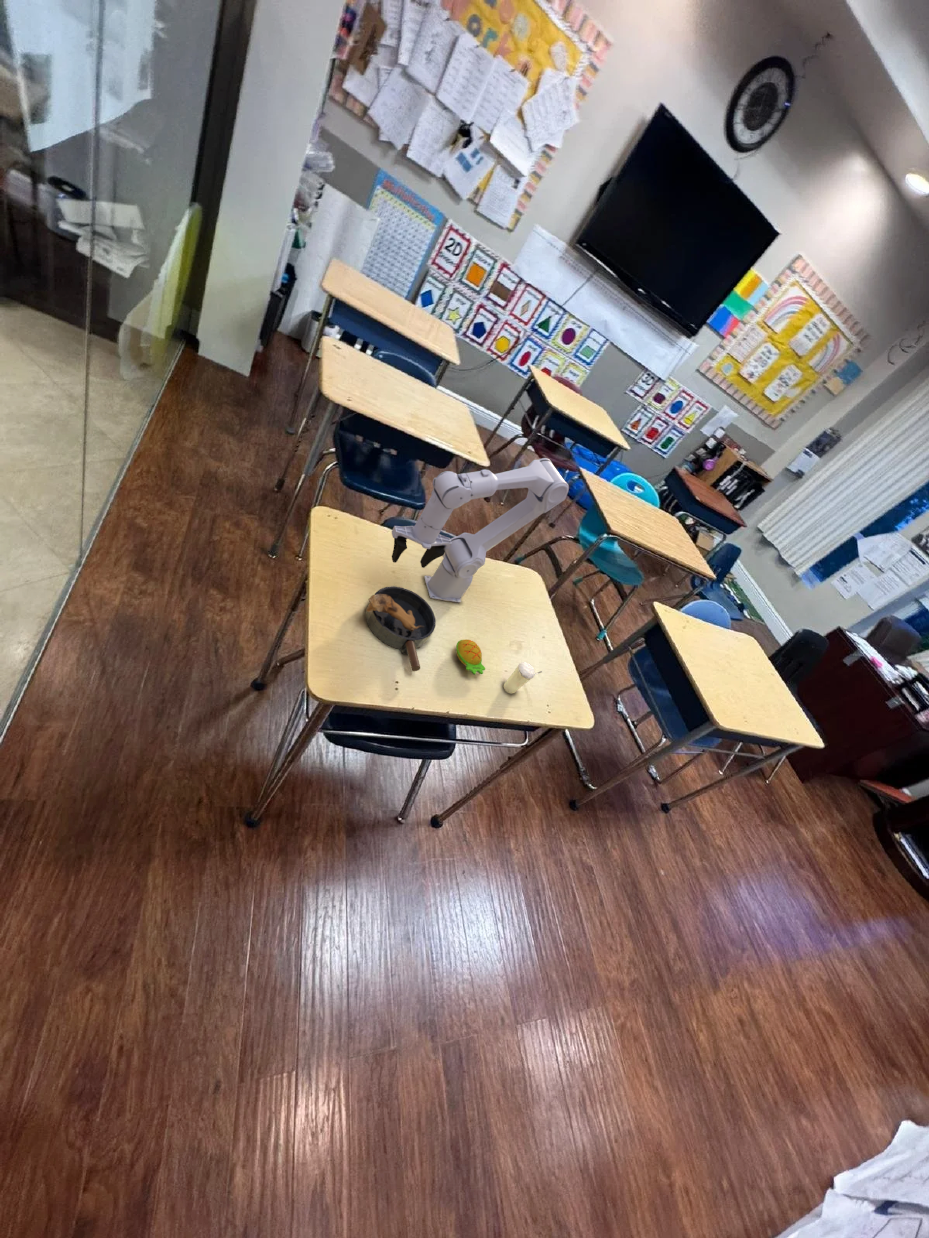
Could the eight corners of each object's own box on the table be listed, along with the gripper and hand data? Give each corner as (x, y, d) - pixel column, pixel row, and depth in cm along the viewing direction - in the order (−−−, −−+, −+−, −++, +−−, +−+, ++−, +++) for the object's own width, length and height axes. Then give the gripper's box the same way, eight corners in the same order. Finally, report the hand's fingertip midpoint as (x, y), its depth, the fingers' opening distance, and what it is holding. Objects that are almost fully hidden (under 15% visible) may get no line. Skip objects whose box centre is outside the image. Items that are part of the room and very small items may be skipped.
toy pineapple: (469, 646, 130) (479, 633, 127) (484, 679, 125) (495, 667, 122) (446, 646, 126) (456, 633, 123) (461, 681, 121) (472, 668, 118)
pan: (420, 601, 132) (427, 591, 130) (435, 652, 123) (442, 642, 120) (361, 593, 124) (366, 581, 121) (371, 647, 114) (377, 636, 112)
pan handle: (400, 649, 118) (407, 639, 116) (408, 650, 119) (415, 639, 117) (406, 676, 114) (413, 665, 111) (414, 676, 115) (421, 666, 113)
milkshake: (518, 700, 126) (541, 678, 120) (499, 691, 125) (522, 668, 119) (520, 687, 130) (542, 664, 123) (502, 677, 129) (523, 654, 122)
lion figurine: (363, 606, 121) (362, 610, 112) (374, 586, 120) (374, 588, 112) (418, 635, 123) (421, 641, 115) (429, 616, 123) (433, 620, 114)
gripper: (406, 526, 110) (383, 569, 118) (463, 539, 118) (437, 578, 126) (400, 504, 114) (378, 548, 123) (456, 518, 122) (431, 558, 130)
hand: (408, 562), depth 125 cm, fingers open, 7 cm apart
